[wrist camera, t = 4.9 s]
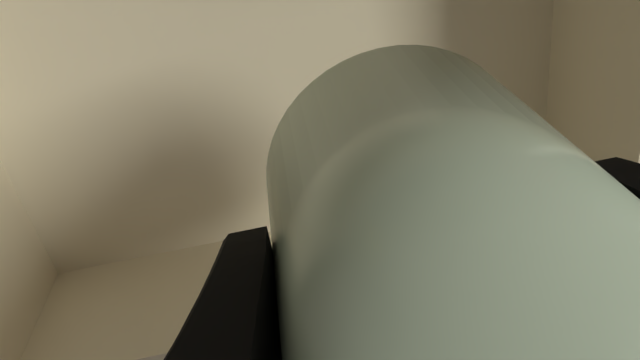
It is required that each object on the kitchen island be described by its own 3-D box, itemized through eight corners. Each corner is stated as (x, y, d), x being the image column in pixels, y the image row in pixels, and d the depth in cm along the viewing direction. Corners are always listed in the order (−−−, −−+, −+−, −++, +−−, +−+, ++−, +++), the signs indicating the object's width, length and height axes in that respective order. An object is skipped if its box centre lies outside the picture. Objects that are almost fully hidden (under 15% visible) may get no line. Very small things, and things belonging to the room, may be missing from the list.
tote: (48, 285, 19) (-9, 412, 14) (-208, -200, 12) (-468, -236, 7) (555, 184, 19) (646, 277, 15) (596, -334, 12) (789, -440, 8)
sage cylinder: (295, 295, 12) (352, 731, 6) (236, 79, 9) (232, 457, 3) (518, 244, 12) (798, 624, 6) (520, 17, 10) (1004, 279, 4)
